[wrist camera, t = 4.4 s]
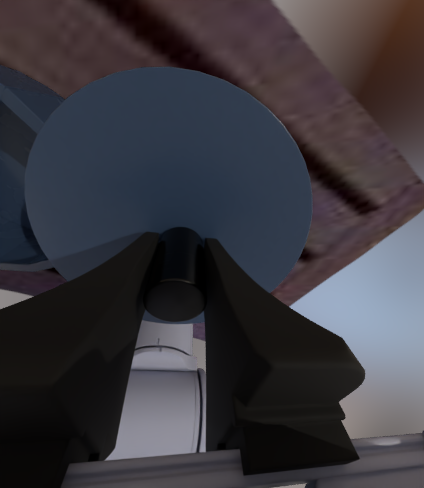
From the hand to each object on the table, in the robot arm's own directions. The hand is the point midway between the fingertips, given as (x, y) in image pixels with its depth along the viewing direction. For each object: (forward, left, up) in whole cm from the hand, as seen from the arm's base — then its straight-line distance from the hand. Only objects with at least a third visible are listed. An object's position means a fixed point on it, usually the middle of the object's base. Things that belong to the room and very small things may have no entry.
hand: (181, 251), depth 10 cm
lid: (0, 0, -1) cm, 1 cm away
